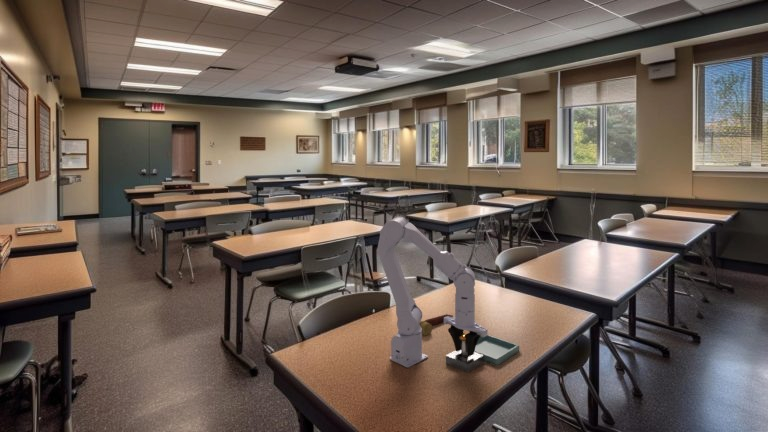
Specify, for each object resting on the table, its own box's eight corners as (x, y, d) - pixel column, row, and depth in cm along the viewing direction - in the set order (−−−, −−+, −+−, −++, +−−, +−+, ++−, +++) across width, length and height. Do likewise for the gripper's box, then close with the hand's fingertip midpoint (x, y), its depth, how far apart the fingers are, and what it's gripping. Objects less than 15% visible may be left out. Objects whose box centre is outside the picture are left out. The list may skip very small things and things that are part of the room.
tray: (496, 365, 123) (496, 359, 122) (460, 351, 132) (460, 345, 132) (519, 351, 131) (519, 345, 131) (483, 338, 141) (483, 333, 141)
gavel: (443, 307, 164) (463, 313, 157) (443, 318, 165) (462, 325, 157) (404, 316, 151) (423, 324, 144) (403, 328, 152) (422, 337, 144)
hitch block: (467, 372, 119) (467, 364, 119) (445, 363, 125) (445, 355, 124) (483, 363, 124) (483, 355, 124) (461, 354, 130) (461, 346, 130)
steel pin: (465, 367, 122) (466, 338, 121) (456, 363, 125) (456, 335, 123) (472, 363, 124) (472, 335, 123) (463, 359, 127) (463, 332, 126)
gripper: (493, 311, 120) (493, 355, 121) (453, 300, 130) (453, 341, 132) (479, 318, 115) (479, 364, 117) (439, 305, 126) (439, 348, 127)
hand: (464, 352), depth 124 cm, fingers open, 4 cm apart
